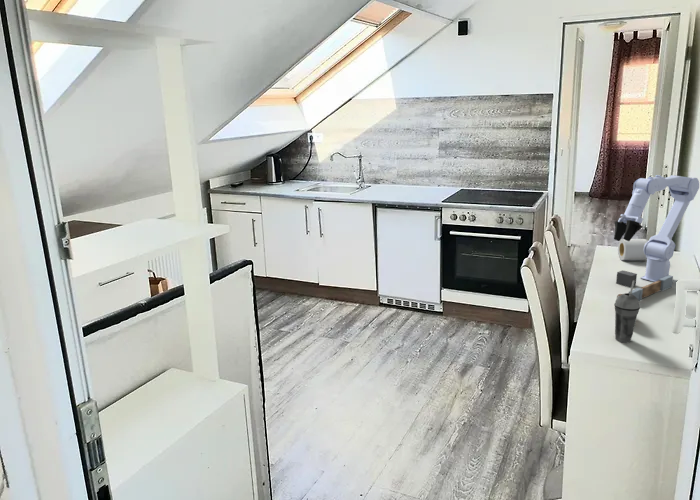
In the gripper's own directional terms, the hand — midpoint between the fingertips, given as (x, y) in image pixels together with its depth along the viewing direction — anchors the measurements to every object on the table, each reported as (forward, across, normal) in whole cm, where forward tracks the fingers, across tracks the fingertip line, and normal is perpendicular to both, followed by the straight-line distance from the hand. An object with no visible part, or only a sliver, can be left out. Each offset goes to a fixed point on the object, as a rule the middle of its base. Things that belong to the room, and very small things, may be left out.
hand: (621, 240), depth 214 cm
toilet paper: (-2, -43, +28) cm, 52 cm away
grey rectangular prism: (+14, -12, +14) cm, 23 cm away
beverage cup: (+36, +37, -4) cm, 52 cm away
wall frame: (+15, +1, +18) cm, 24 cm away
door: (+15, 0, +19) cm, 24 cm away
